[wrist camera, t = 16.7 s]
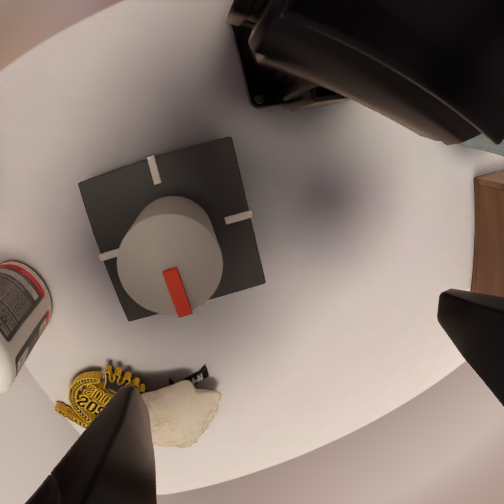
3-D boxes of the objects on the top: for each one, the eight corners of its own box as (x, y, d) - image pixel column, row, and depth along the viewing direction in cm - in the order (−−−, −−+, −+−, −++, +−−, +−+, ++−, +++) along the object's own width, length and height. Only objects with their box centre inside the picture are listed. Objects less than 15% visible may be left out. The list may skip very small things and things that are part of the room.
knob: (123, 209, 15) (99, 234, 10) (201, 185, 15) (207, 200, 11) (148, 282, 16) (138, 329, 12) (221, 260, 17) (236, 302, 12)
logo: (53, 410, 20) (86, 354, 18) (55, 404, 20) (89, 347, 19) (123, 447, 22) (170, 401, 20) (124, 440, 22) (170, 393, 21)
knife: (116, 421, 22) (116, 424, 22) (103, 410, 22) (103, 413, 21) (213, 371, 22) (213, 374, 22) (200, 358, 21) (201, 361, 21)
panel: (89, 177, 16) (74, 182, 14) (226, 135, 17) (233, 133, 15) (133, 304, 19) (127, 325, 17) (258, 268, 20) (269, 285, 18)
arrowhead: (214, 372, 19) (240, 441, 24) (201, 349, 20) (229, 422, 26) (95, 417, 16) (153, 475, 21) (91, 391, 18) (146, 455, 23)
